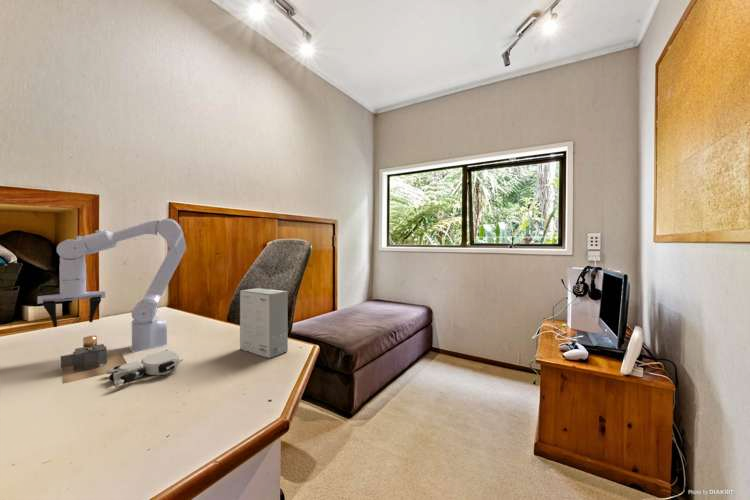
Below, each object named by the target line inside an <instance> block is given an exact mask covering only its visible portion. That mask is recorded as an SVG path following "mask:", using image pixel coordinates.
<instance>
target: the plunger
mask: <svg viewBox="0 0 750 500" xmlns="http://www.w3.org/2000/svg"><path fill="white" fill-rule="evenodd" d="M82 341H83V342H82V347H88V350H91V349H92V346H95V345H98V337H97V335H88V336H84V337H83V338H82Z"/></svg>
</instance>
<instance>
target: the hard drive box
mask: <svg viewBox="0 0 750 500" xmlns="http://www.w3.org/2000/svg"><path fill="white" fill-rule="evenodd" d="M288 292H289V291H287V290H280V289H278V290H277V289H271V288H262V287H260V288H259V287H256V288H250V289H249V288H248V289H242V290H239V346H240V347H239V349H240V350H241V349H242V350H243V351H244V352H247V351H249V352H248V353H251V354H255V355H258V356H261V357H264V358H266V359H267V358H268V359H271V358H274V357H276V356H279V355H282V354H284V352H285V353H288V351H289V350H288V345H289V339H288V337H289V336H288V333H289V332H288V329H289V327H288V326H289V325H288V318H289V317H288V314H289V313H288V311H289V310H288V305H289V304H288V301H289V300H288V299H289V298H288V297H289V296H288V295H289V294H288ZM242 350H241V351H242Z"/></svg>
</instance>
